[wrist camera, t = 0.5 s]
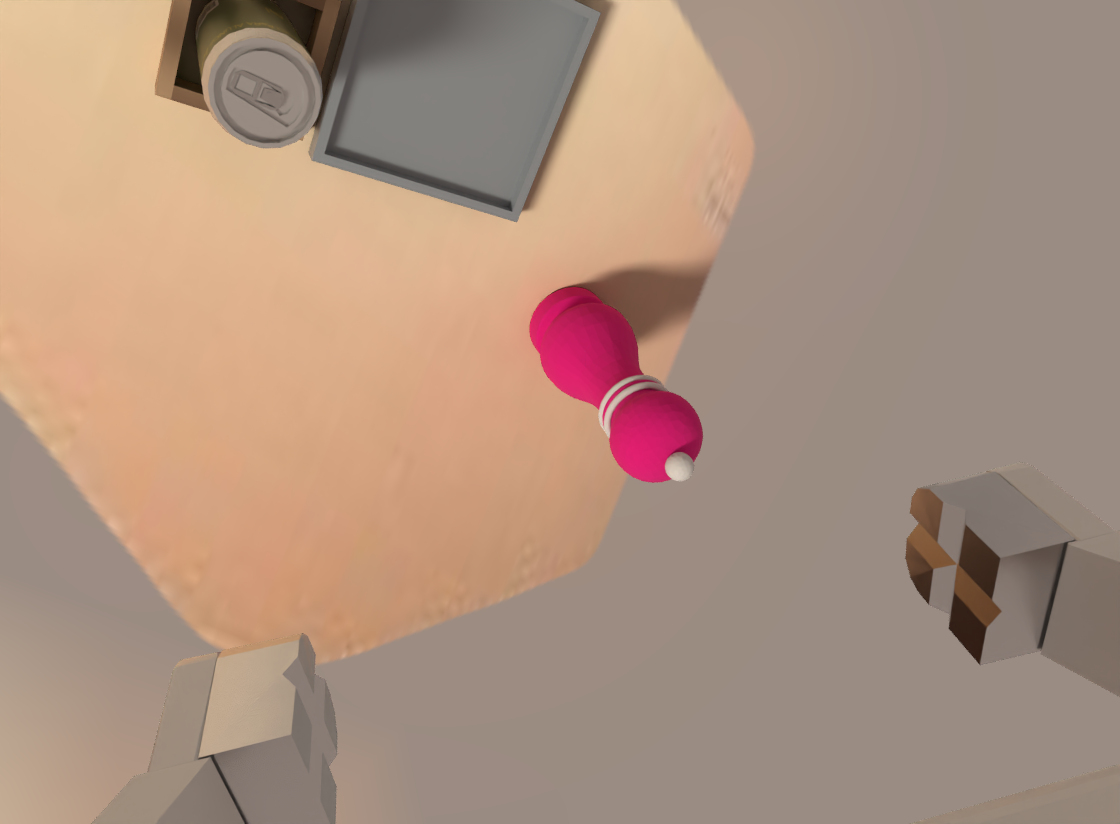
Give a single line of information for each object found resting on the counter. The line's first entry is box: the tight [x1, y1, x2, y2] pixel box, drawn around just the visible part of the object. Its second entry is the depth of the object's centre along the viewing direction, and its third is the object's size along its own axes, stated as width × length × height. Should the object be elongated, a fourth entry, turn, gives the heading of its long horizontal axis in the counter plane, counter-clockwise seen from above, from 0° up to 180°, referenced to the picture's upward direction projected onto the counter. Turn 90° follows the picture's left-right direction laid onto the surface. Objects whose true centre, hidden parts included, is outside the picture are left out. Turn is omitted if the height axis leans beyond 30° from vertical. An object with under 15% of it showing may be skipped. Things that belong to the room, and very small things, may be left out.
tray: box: [309, 0, 601, 222], centre depth 53 cm, size 14×14×2 cm
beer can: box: [195, 0, 323, 148], centre depth 43 cm, size 5×5×12 cm
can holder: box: [155, 0, 341, 141], centre depth 47 cm, size 8×8×2 cm
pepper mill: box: [530, 287, 703, 483], centre depth 59 cm, size 7×7×20 cm
